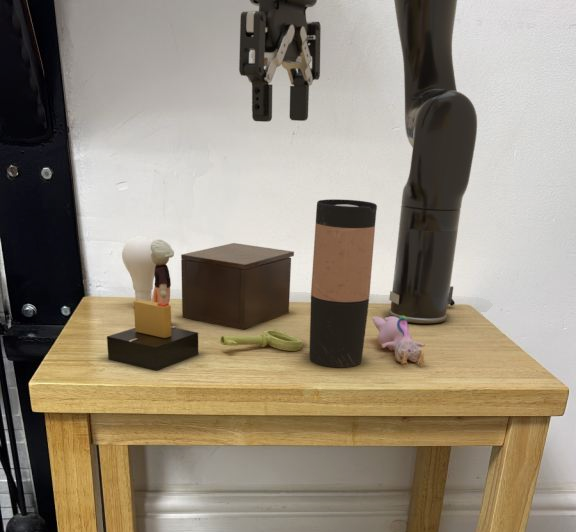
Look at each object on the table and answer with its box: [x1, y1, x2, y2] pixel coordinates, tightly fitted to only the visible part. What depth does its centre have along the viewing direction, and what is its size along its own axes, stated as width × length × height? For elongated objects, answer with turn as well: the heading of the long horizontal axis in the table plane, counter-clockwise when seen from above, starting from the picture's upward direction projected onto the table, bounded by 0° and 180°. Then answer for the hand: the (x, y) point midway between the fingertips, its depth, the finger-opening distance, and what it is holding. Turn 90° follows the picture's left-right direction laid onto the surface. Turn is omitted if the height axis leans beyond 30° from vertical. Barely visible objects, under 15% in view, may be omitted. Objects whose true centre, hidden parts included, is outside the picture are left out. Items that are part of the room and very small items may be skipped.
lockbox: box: [180, 257, 292, 330], centre depth 124 cm, size 14×12×9 cm
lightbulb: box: [121, 235, 156, 302], centre depth 126 cm, size 6×6×11 cm
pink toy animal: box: [372, 315, 425, 367], centre depth 110 cm, size 6×6×15 cm
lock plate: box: [106, 325, 199, 371], centre depth 103 cm, size 9×8×3 cm
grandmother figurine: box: [151, 238, 175, 327], centre depth 113 cm, size 8×4×13 cm, turn 18°
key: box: [220, 329, 304, 352], centre depth 109 cm, size 7×12×2 cm, turn 140°
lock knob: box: [133, 300, 172, 338], centre depth 101 cm, size 5×1×4 cm, turn 60°
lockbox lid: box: [180, 242, 295, 269], centre depth 122 cm, size 14×12×1 cm
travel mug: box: [309, 198, 378, 368], centre depth 101 cm, size 8×8×20 cm
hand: (280, 120), depth 92 cm, fingers open, 8 cm apart
